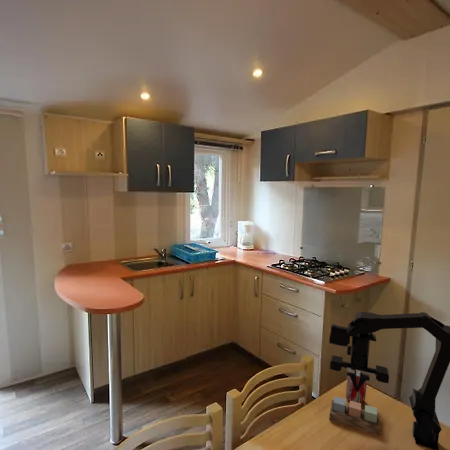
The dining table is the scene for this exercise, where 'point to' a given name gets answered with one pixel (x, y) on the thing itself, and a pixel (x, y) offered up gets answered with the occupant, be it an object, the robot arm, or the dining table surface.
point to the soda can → (351, 392)
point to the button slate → (339, 404)
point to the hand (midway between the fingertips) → (356, 391)
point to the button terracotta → (354, 409)
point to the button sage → (370, 414)
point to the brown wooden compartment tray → (354, 420)
